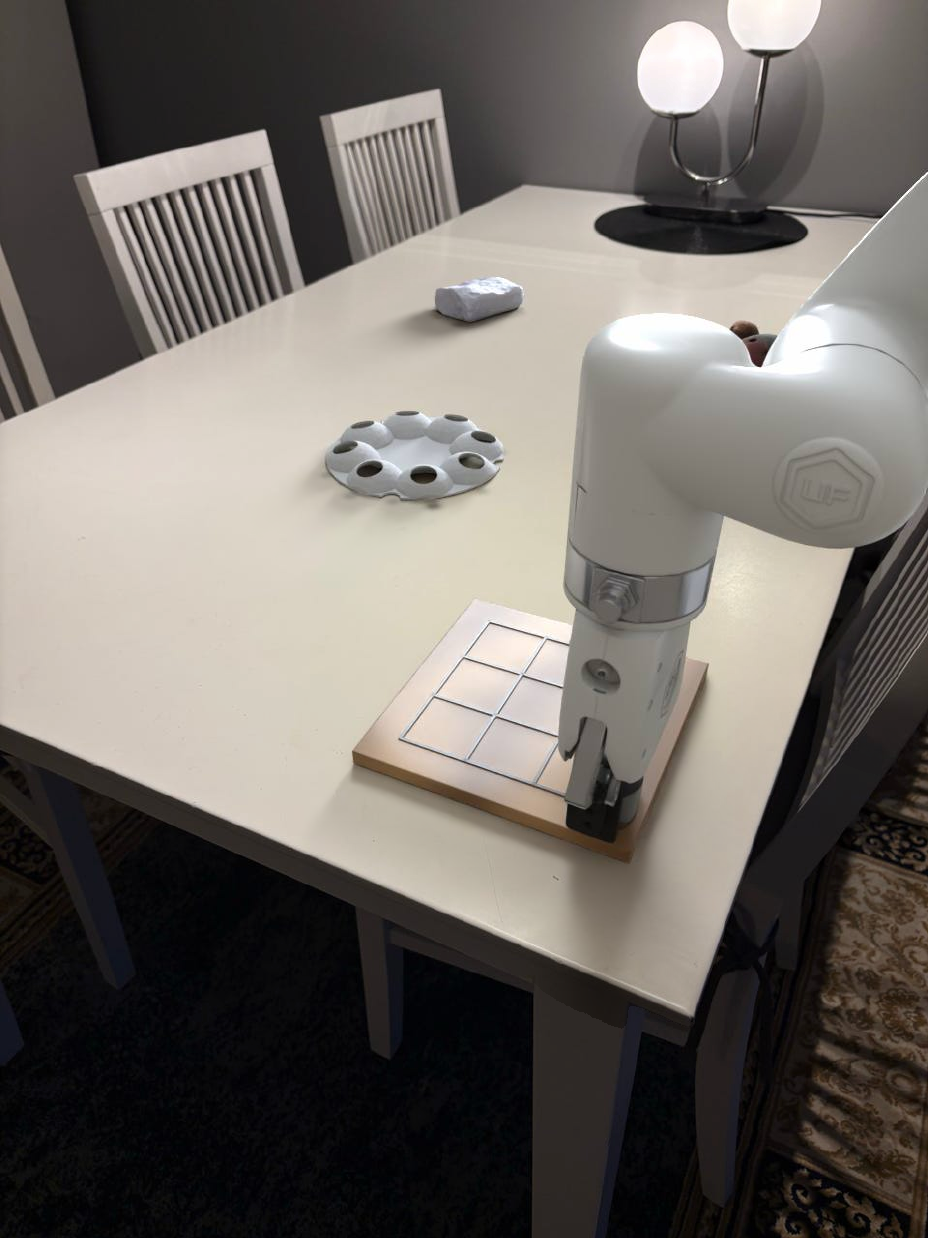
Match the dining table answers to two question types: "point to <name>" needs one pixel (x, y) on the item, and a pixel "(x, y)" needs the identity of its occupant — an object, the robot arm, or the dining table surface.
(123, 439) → the dining table surface
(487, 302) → the block
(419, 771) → the game board
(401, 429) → the round palette
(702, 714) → the dining table surface
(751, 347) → the decorative turtle
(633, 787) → the grey metallic short cylinder
